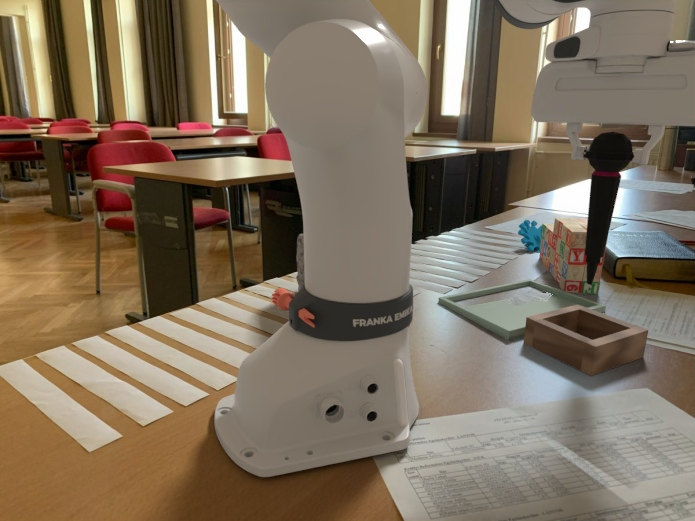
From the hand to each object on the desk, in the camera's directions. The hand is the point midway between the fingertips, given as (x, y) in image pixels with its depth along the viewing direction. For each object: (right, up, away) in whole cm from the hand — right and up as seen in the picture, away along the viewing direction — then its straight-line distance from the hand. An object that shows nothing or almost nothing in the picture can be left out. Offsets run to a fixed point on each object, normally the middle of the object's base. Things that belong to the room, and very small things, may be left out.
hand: (608, 162), depth 65 cm
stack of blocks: (+11, -16, +39) cm, 44 cm away
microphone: (0, -16, +5) cm, 17 cm away
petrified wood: (-33, -20, +26) cm, 46 cm away
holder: (0, -25, +7) cm, 26 cm away
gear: (+13, -13, +56) cm, 59 cm away
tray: (-4, -21, +22) cm, 30 cm away
